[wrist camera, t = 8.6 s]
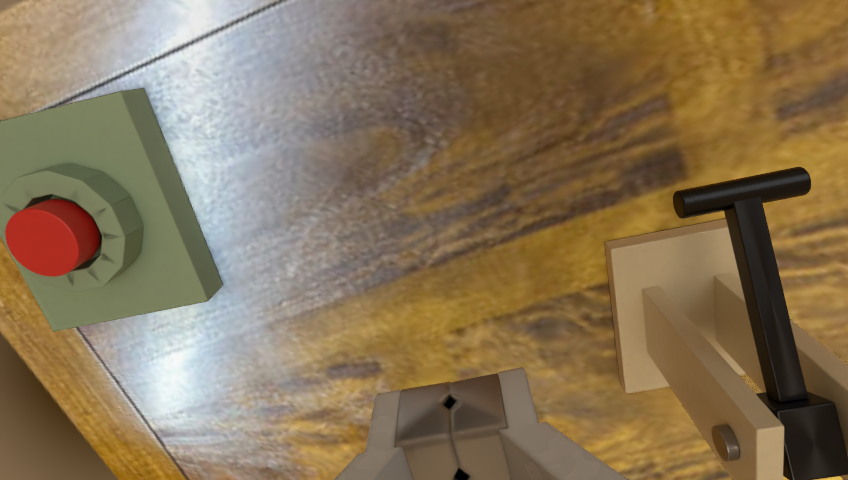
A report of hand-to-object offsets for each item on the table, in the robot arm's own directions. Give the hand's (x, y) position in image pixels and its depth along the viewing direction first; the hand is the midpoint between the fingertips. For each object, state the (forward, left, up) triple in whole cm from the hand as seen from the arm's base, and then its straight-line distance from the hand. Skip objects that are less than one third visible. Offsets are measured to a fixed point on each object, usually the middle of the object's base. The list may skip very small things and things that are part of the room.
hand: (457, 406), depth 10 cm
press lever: (+7, +12, -12) cm, 18 cm away
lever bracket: (+11, +12, -20) cm, 26 cm away
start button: (-2, -20, -16) cm, 26 cm away
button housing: (-2, -20, -20) cm, 28 cm away
